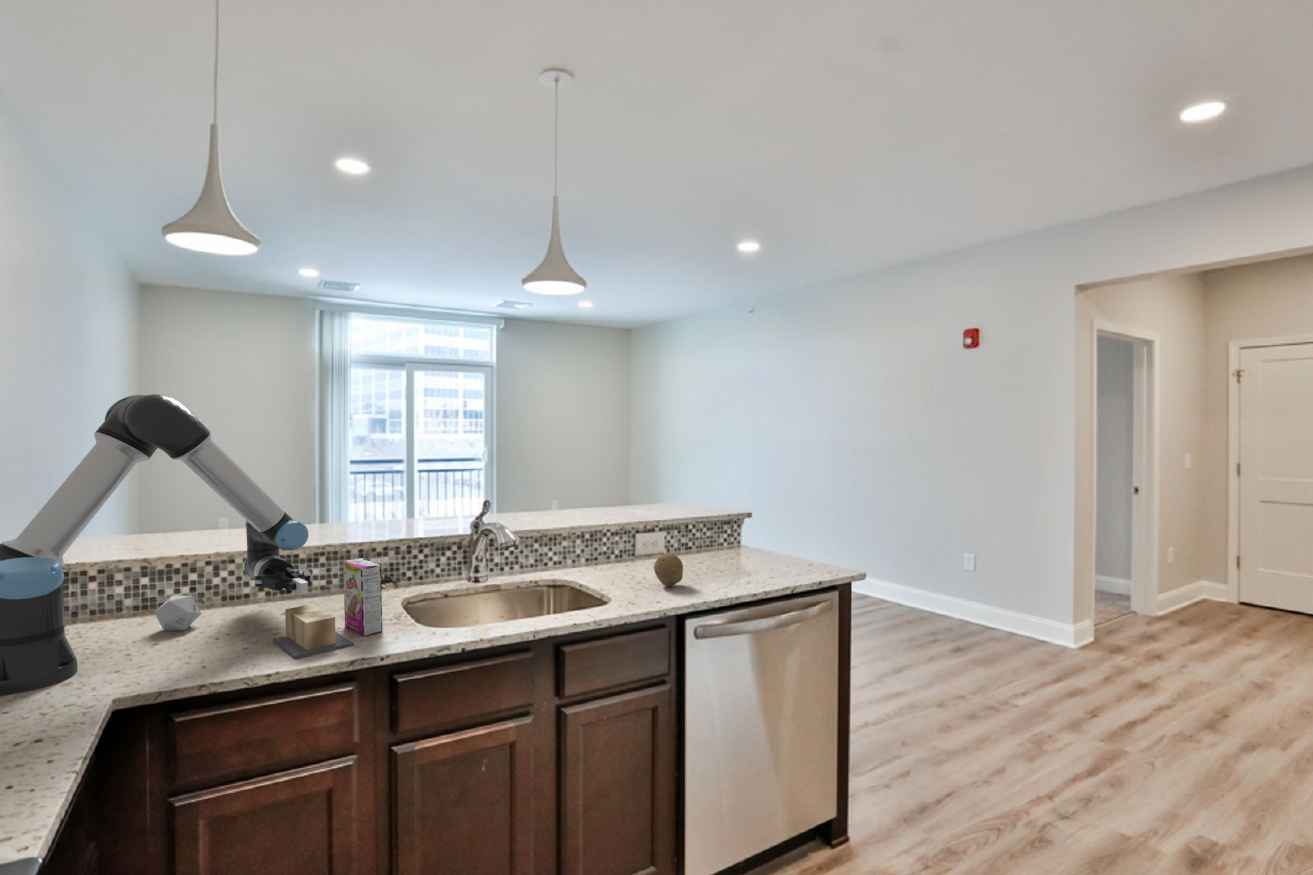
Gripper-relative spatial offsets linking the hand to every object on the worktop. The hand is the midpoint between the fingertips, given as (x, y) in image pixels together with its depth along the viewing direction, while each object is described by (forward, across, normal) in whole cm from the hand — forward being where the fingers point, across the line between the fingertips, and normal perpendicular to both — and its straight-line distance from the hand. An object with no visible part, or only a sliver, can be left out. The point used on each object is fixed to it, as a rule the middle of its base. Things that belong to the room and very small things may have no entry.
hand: (304, 588), depth 154 cm
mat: (+6, 0, -11) cm, 13 cm away
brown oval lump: (+30, -92, -12) cm, 98 cm away
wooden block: (-3, 0, -8) cm, 8 cm away
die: (-30, +20, -12) cm, 38 cm away
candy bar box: (+4, -12, -12) cm, 17 cm away
